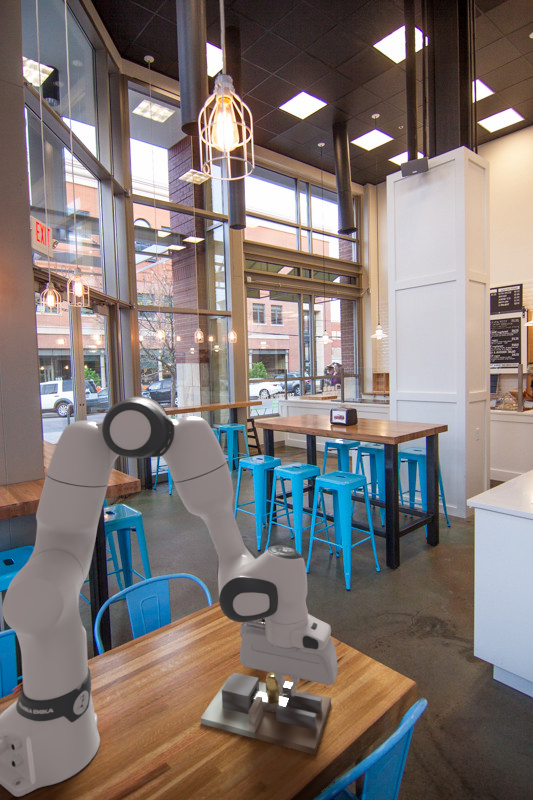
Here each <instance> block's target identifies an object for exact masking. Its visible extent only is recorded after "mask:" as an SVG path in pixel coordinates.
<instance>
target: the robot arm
mask: <svg viewBox="0 0 533 800" xmlns="http://www.w3.org/2000/svg"><path fill="white" fill-rule="evenodd" d="M167 413H168V412H167V411H166V409H165V407H164V406H163V405H162V404H161V403H159V402H158V401H157V400H155V399H153V398H150V397H146V396H136V395H135V396H131V397H127V398H125V399H123V400H121V401H119V402H116V403H115V404H113V405H112V406H111V407H110V408H109V409H108V411H107V412H106V414H105V416H104V418H103V420H102V421H94V420H88V419H87V420H86V419H85V420H76V421H74V422H70V424H68V425H67V426H66V427H65V428H64V429H63V430H62V432H61V435H60V437H59V439H58V441H57V442H56V445H55V447H54V451H53V453H52V455H51V458H50V460H49V461H50V462H49V464H48V468H47V471H46V474H45V480H44V482H43V486H42V490H41V494H40V498H39V502H38V506H37V509H36V514H35V519H36V535H35V543H34V547H33V550H32V553H31V555H30V556H29V559H28V560H27V562H26V564H24V566H23V567H22V568H21V569H20V570H19V571H18V572H17V573H16V575H14V577H13V578H12V580H10V583H9V586H8V588H7V590H6V592H5V595H4V599H3V601H2V605H1V606H2V607H1V608H2V616H3V619H4V621H5V622H6V624H7V625H8V627H9V628H10V629H12V630H13V631H14V632H15V634H16V637H17V640H18V643H19V644H18V645H19V647H20V652H21V653H20V654H21V669H22V673H21V674H22V682H21V683H19V684H18V685H17V686H15V687H14V688H13V689H12V690H11V691H12V692H13V693H12V696H16V695H17V694H18V693H19V695H18V698H17V700H15V701H14V702H13V703H12V704H11V705H9V706H8V707H7V708H6V709H5V710H3V711H2V713H0V785H1V786H2V787H3V788H5V789H6V790H7V791H8V792H9V793H10V794H11V795H13V796H14V797H17V798H18V797H23V796H25V795H26V794H30V793H31V792H33V791H36V790H37V789H40V788H42V787H47V786H52V785H55V784H59V783H61V782H63V781H65V780H68V779H69V778H72V777H73V776H75V775H76V774H77V773H79V772H80V771H81V770H83V769H84V768H85V767H86V766H87V765H88V764H90V762H91V761H92V759H93V758H94V757H95V756H96V754H97V752H98V750H99V747H100V743H101V737H100V733H99V730H98V720H99V719H98V714H97V713H96V712H95V708H94V703H93V702H94V701H93V697H92V675H91V670H90V667H89V666H88V665H89V663H88V642H87V641H88V639H87V631H86V628H85V627H84V626H83V622H82V619H81V615H80V611H79V610H80V609H79V600H80V593H81V589H82V587H83V584H84V582H85V581H86V579H87V577H88V574H89V572H90V568H91V564H92V560H93V553H94V549H95V543H96V537H97V533H98V532H97V531H98V526H99V521H100V517H101V514H102V510H103V505H104V501H105V498H106V494H107V490H108V486H109V483H110V480H111V479H110V478H111V474H112V470H113V467H114V465H115V461H116V460H117V459H118V457H123V458H126V459H127V458H128V459H144V458H145V459H146V458H160V457H161V458H163V460H164V461H165V463H166V465H167V467H168V470H169V473H170V476H171V480H172V481H173V484H174V486H175V489H176V492H177V494H178V496H179V498H180V500H181V502H182V504H183V505H184V507H185V508H186V510H187V511H188V512H189V513H190V514H192V515H194V516H196V517H199V518H200V519H201V520H202V521H203V522H204V524H205V525H206V528H207V530H208V532H209V536H210V538H211V541H212V543H213V546H214V550H215V551H216V554H217V565H216V578H217V586H218V599H219V600H218V603H219V607H220V609H221V611H222V613H223V615H225V616H226V618H228V619H229V620H231V621H233V622H236V623H241V625H240V627H239V628H240V629H239V632H240V638H241V641H240V648H239V649H240V650H239V652H240V653H239V660H240V663H241V665H242V666H243V667H244V668H245V667H246V668H250V669H253V670H258V671H263V672H267V673H269V672H272V673H275V679H276V680H277V682H278V684H279V686H280V693H281V694H285V695H289V696H293V697H294V695H295V693H296V690H297V685H298V683H299V681H300V680H304V681H310V682H314V683H319V684H323V685H327V686H332V685H333V684H334V682H335V681H336V679H337V677H338V658H337V651H336V646H335V643H334V642H333V640H332V639H331V634H332V628H331V627H332V626H331V625H330V624H329V623H327V622H325V621H322V620H321V619H319V618H316V617H315V616H313V615H311V614H310V613H309V611H308V606H307V604H306V603H307V602H306V600H307V596H308V576H307V575H308V574H307V568H306V562H305V559H304V557H303V556H302V554H301V553H300V552H299V551H298V550H297V549H294V548H293V547H291V546H286V545H271V546H269V547H268V548H267V549H266V550H265V551H264V552H263V553H262V554H260V555H259V556H257V555H256V554H255V553H254V552H253V551H252V550H251V549H250V548H249V547H248V546H247V545H246V543H245V541H244V538H243V536H242V533H241V530H240V528H239V526H238V522H237V519H236V517H235V514H234V508H233V501H234V496H235V494H234V487H233V486H234V485H233V480H232V475H231V471H230V468H229V465H228V462H227V459H226V456H225V454H224V452H223V449H222V447H221V444H220V443H219V440H218V438H217V436H216V435H215V432H214V430H213V429H212V427H211V426H210V424H209V422H208V421H207V420H206V419H205V418H203V417H201V416H196V415H188V416H183V417H182V416H181V417H179V418H171V417H169V416H168V414H167ZM262 618H265V623H264V622H256V621H254V620H258V619H262ZM284 676H287V677H291V681H292V682H291V681H287V680H286V678H285V677H284Z"/></svg>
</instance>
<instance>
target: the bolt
mask: <svg viewBox="0 0 533 800" xmlns="http://www.w3.org/2000/svg"><path fill="white" fill-rule="evenodd" d="M265 678H266V679H265V683H266V682H267V693H263V692H258V691H254V692H253V694H252V695H251V697H250V698H251V706H252V704H253V702H254V700H255V698H256V697H257V696H261V697H263V710H267V711H271V712H275V713H276V707H277V705H282V706H286V707H289V698H284V697H280V696H279V684H278V682H277V680H276V679H275V673H272V672H267V673H266V677H265Z"/></svg>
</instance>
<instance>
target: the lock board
mask: <svg viewBox="0 0 533 800" xmlns="http://www.w3.org/2000/svg"><path fill="white" fill-rule="evenodd" d="M254 691H258V692H263V693H267V682H266V681H265V682H262V681H260V679H259V677H257V676H252V675H246V674H243V673H238V672H233V673H231V675H228V677H227V678H226V680H225V681H224V683H223V684H222V686H221V687H220V688H219V690H218V692H217V693H216V694H215V696H214V697H213V699H212V701H211V702H210V703H209V705H208V706H207V707H206V709H205V711H204V712H203V714H202V715H201V717H200V719H199V720H200V725H204V726H207V727H212V728H214V729H217V730H218V729H219V730H223V731H225V732H230V733H234V734H237V735H241V736H244V737H248V738H252V739H255V740H258V741H262V742H266V743H270V744H273V745H277V746H281V747H285V748H289V749H292V750H294V751H295V750H296V751H299V752H304V753H307V754H311V755H315V756H316V753H317V750H318V748H319V744H320V740H321V738H322V734H323V731H324V727H325V724H326V720H327V718H328V714H329V711H330V708H331V704H332V697H329V696H325V695H320V694H315V693H311V692H307V691H301V690H298V689H296V693H295V695H294V697H293V696H289V695H285V694H281V693H280V686H279V696H280V697H284V698H289V707H286V706H282V705H277V707H276V713H275V712H271V711H267V710H263V697H261V696H257V697H256V698H255V700H254V702H253V704H252V706H251V698H250V697H251V695H252V694H253V692H254Z"/></svg>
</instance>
